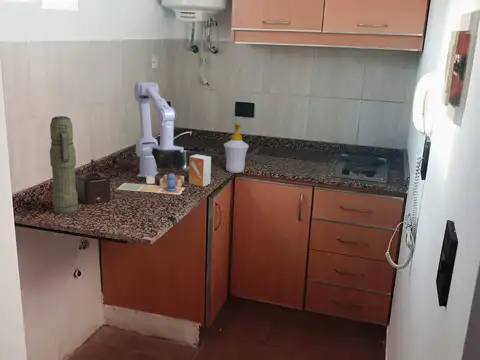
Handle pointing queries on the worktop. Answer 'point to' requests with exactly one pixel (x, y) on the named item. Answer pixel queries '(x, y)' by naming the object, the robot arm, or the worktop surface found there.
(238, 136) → the soap bottle
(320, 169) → the worktop surface
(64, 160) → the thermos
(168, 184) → the pawn
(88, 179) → the dark brown coffee grinder
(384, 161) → the worktop surface
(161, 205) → the worktop surface
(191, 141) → the worktop surface
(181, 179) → the frame
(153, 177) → the ivory die
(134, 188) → the game mat
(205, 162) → the small box
